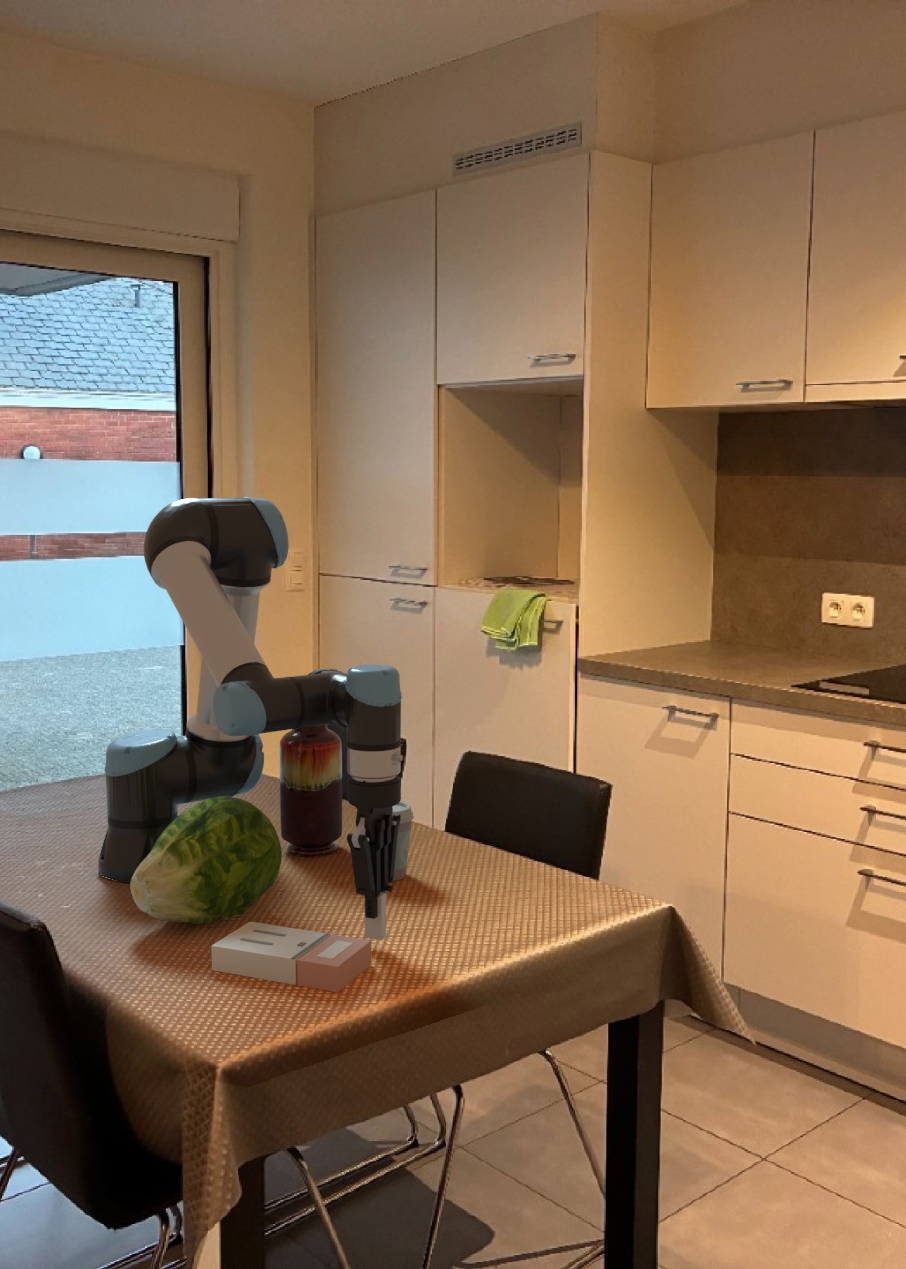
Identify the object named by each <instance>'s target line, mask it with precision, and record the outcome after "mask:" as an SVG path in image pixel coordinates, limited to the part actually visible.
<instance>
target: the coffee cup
mask: <svg viewBox="0 0 906 1269" xmlns="http://www.w3.org/2000/svg"><path fill="white" fill-rule="evenodd" d="M392 807H393V814H400V815H401V820H400V824H399V828H398V835H397V846H396V857H395V867H394V878H393V882H395V881H399V880H402V879H403V878H405V877H406V876H407V875H406V873H407V867H408V857H409V848H410V839H411V830H412V828H411V827H412V823H413V822H412V820H414V818H415V817H414V812H413V811H412V808H411V805H410V804H409V803H407V802H405V801H400V802H399V803H398V804H397V805H395V806H392Z"/></svg>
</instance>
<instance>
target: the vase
mask: <svg viewBox="0 0 906 1269" xmlns="http://www.w3.org/2000/svg"><path fill="white" fill-rule="evenodd" d="M278 753H279V757H278V758H279V800H280V802H279V803H280V804H279V805H280V806H279V807H280V808H279V810H280V811H279V812H280V836H281V838H282V839H283V840H284V841H286V842H287V843H288V844H287V847H286V852H287V853H288V854H289V855H293V856H296V857H302V858H303V857H305V858H307V857H308V858H314V857H315V858H316V857H324V856H328V855H330V854H333V853H335V852H336V851H337V850H338V847H337V844H336V843H335V842H336V841H337V840H339V839H340V838H341V837H342V835H343V769H342V768H343V766H342V765H343V760H342V757H343V754H342V753H343V752H342V739H341V737H340V736H339V734H337V733H336V732H334V731H333V730H331V729H329V728H328V725H323V726H315V727H307V728H300V729H290V730H288V732H286V733H285V734H284V735H283V736H282V737H281V739H280V740H279V752H278Z"/></svg>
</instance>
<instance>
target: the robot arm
mask: <svg viewBox="0 0 906 1269" xmlns="http://www.w3.org/2000/svg"><path fill="white" fill-rule="evenodd" d="M289 546H290V545H289V534H288V529H287V525H286V521H285V519H284V517H283V515H282V513H281V511H280V510H279V508H278V507H277V506H276V505H275V504H274V503H273V502H272V501H270V500H269V499H265V498H257V497H256V498H252V497H247V496H243V497H219V498H218V497H215V498H213V497H212V498H196V497H193V498H192V497H191V498H184V499H183V498H182V499H178V500H176V501H173V502H171V503H169V504H167V505H166V506H164V507H163V508H161V510H160V511H158V513H157V514H156V515H155V516H154V518H153V519H152V520H151V522H150V523H149V526H148V528H147V529H146V533H145V536H144V542H143V557H144V563H145V565H146V570H147V572H148V573H149V575H150V577H151V579H152V581H153V582H154V583H155V585H156V586H158V587H159V588H161V589H162V590H166V593H167V594H168V596H169V598H170V599H171V602H172V604H173V606H174V608H175V609H176V611H177V613H178V615H179V617H180V618H181V620H182V622H183V624H184V626H185V628H186V630H187V631H188V633H189V636H190V638H191V639H192V641H193V643H194V644H195V647H196V649H197V650H198V652H199V654H200V656H201V663H200V671H199V675H200V676H199V685H198V693H197V694H198V696H197V704H196V705H197V706H196V712H195V714H193V715H191V716H190V717H189V718H188V719H187V720H186V728H185V733H184V734H185V735H179V736H177V735H176V733H175V732H174V731H173V730H171V729H168V728H167V729H166V728H155V729H144V730H139V731H135V732H130V733H127V734H124V735H121V736H119V737H117V738H115V739H114V740H113V741H112V742H110V743H109V744H108V746H107V748H106V751H105V766H104V774H105V783H106V784H105V786H106V787H105V788H106V811H107V828H106V833H105V837H104V839H103V843H102V845H101V849H100V853H99V856H98V863H97V864H98V865H97V867H98V874H99V873H100V874H101V875H102V876H104V877H107V878H110V879H113V880H117V881H116V882H119V881H122V882H121V883H130V881H131V878H132V877H133V875H134V873H135V871H136V869H137V868H138V866H139V865H140V863H141V862H142V861H143V860H144V859H145V858H146V857H147V856H148V855H149V853H150V852H151V850H152V848H153V847H154V845H155V843H156V841H157V840H158V838H159V837H160V835H161V834H162V833H163V831H164V830H165V829H166V828H167V827H168V825H169V824H170V823H171V822H172V821H173V820H174V819H176V818H177V817H178V816H179V814H178V810H179V809H178V808H179V805H183V804H189V803H195V802H196V803H197V802H202V801H204V800H206V799H208V798H211V797H218V796H228V797H233V798H234V797H235V796H238V795H242V794H246V793H249V792H250V791H251V790H253V789H254V788H255V787H257V786H256V785H257V784H258V783H259V781H260V779H261V777H262V774H263V769H264V766H265V765H264V764H265V753H264V751H263V749H264V744H263V740H262V737H261V736H260V734H267V733H273V732H281V731H290V730H293V729H300V728H307V727H315V726H323V725H327V726H329V725H337V726H340V727H344V728H346V738H347V739H346V742H347V743H346V746H347V747H346V750H347V752H346V757H347V759H346V761H347V763H346V772H347V774H348V775H349V777H348V779H347V802H348V803H349V805H351V806H353V807H355V809H356V817H355V826H356V829H355V831H354V833H352V832H351V833H349V832H348V834H347V835H346V841H347V844H348V846H349V849H350V857H351V863H352V872H353V879H354V887H355V894H356V895H362V896H364V898H363V899H364V901H363V902H364V903H363V904H364V907H363V908H364V910H363V911H364V914H363V915H364V938H366V939H371V940H379V941H382V940H384V939H385V938H386V937H387V892H389V893H392V892H393V889H394V886H393V885H389V883H390V884H392V883H393V882H394V881H393V878H394V867H395V857H396V846H397V835H398V828H399V824H400V820H401V815H400V814H393V807H392V806H395V805H397V804H398V803H399V802H402V801H401V800H402V778H401V777H400V776H399V774H400V773H401V762H402V761H403V760H404V756H403V755H402V754H401V740H402V737H401V733H402V732H401V731H402V729H401V728H402V726H401V725H402V724H401V723H402V698H403V697H402V696H403V695H402V691H401V680H400V672H399V671H398V670H397V668H395V667H394V666H392V665H391V666H390V665H388V664H387V665H385V664H383V665H381V664H360V665H355V666H352V667H350V668H349V669H348V670H347V672H343V671H341V670H338V669H335V668H334V669H333V668H330V669H327V668H318V669H314V670H313V671H310V672H309V673H308V674H304V675H294V676H285V677H284V676H283V677H274V675H272V672H271V671H270V670H269V668H268V665H267V664H266V663H265V661H264V659H263V657H262V655H261V654H260V652H259V650H258V648H257V647H256V645H255V642H256V633H257V622H258V616H259V615H258V613H259V604H260V598H261V597H260V594H261V591H262V590H263V589H265V587H267V586H268V585H270V583H271V577H272V572H273V571H272V569H279V568H280V567H281V566H283V565H284V564H285V561H287V559H288V555H289V548H290V547H289ZM100 874H99V875H100ZM101 875H100V876H101ZM102 876H101V877H102ZM104 877H103V878H104ZM113 880H112V881H113Z"/></svg>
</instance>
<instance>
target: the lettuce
mask: <svg viewBox="0 0 906 1269" xmlns="http://www.w3.org/2000/svg"><path fill="white" fill-rule="evenodd" d="M282 852H283V851H282V846H281V841H280V838H279V836H278V833H277V831H276V828H275V826H274V824H273V822H272V821H271V820H270V817H268V816H267V815H266V814H265V813H264V812H263V811H262V810H261V809H259V808H258V807H257V806H256V805H254V804H252V803H251V802H250V801H247V800H244V799H242V798H238V797H234V796H233V797H228V796H218V797H211V798H208V799H206V800H203V801H199V802H198V803H197V804H195V805H193V806H191V807H190V808H188V809H187V810H185V811H184V812H182V813H181V814H178V817H177V818H176V819H174V820H173V821H172V822H171V823H170V824H169V825H168V827H167V828H166V829H165V830H164V831H163V833H162V834H161V835H160V837H159V838H158V840H157V841H156V843H155V845H154V847H153V848H152V850H151V852H150V853H149V855H148V856H147V857H146V858H145V859H144V860H143V861H142V862H141V863H140V865H139V866H138V868H137V869H136V871H135V873H134V875H133V877H132V878H131V881H130V882H129V888H130V893H131V895H132V898H133V901H134V902H135V904H136V906H137V908H138V909H139V910H140V911H141V912H142V913H145V914H147V915H149V916H150V917H152V918H154V919H157V920H160V921H165V922H166V921H167V922H176V923H180V924H185V925H194V926H200V925H206V924H213V923H216V922H217V923H218V922H219V921H222V920H226V919H230V918H233V917H237V916H241V915H243V914H244V913H246V911H248V910H249V909H250V908H251V907H253V905H254V904H256V902H257V901H258V900H259V899H260V897H261V896H262V895H263V894H265V893H266V891H268V890H269V889H270V888H271V887H272V886H273V885H274V883H275V882H276V879H277V878H278V876H279V872H280V868H281V865H282V855H283V853H282Z"/></svg>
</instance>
